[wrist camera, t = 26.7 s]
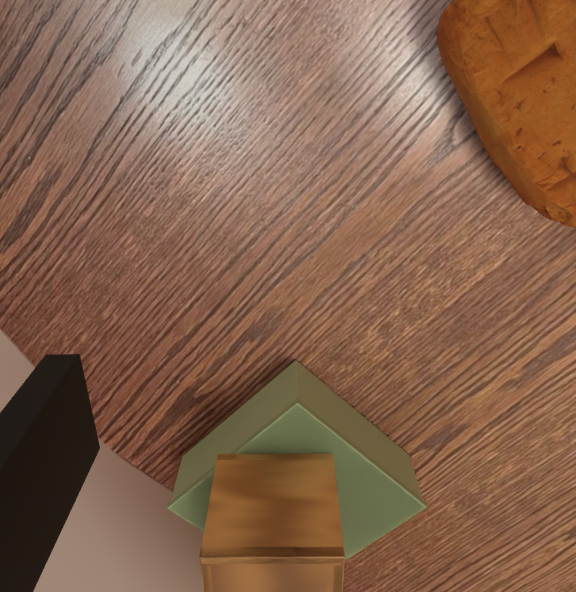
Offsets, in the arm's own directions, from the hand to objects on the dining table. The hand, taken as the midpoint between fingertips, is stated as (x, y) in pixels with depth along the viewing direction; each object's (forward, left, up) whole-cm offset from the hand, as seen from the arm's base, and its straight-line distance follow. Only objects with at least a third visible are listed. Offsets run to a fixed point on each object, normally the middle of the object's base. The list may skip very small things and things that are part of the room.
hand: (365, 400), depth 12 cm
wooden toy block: (+22, -13, -21) cm, 33 cm away
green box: (+24, -12, -27) cm, 38 cm away
